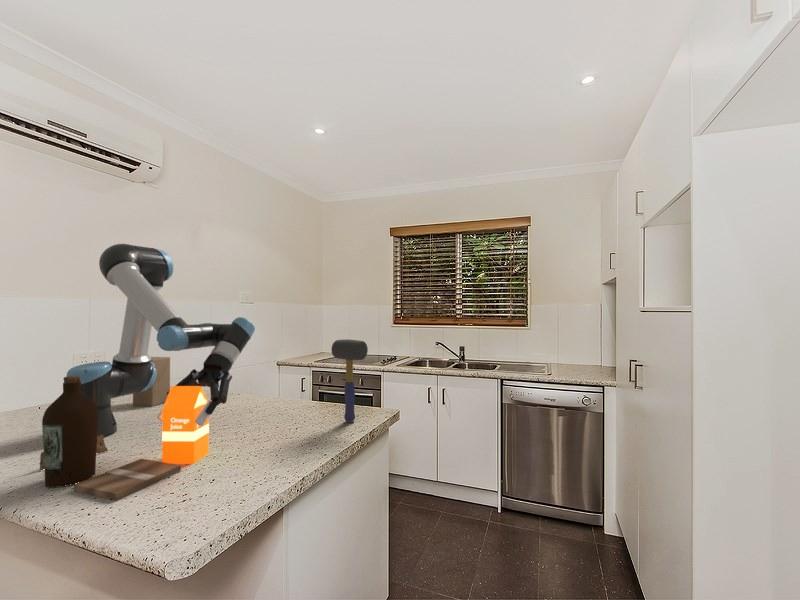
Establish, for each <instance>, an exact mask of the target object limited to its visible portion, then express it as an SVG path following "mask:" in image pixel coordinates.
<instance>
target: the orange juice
mask: <svg viewBox="0 0 800 600" xmlns="http://www.w3.org/2000/svg"><path fill="white" fill-rule="evenodd" d="M207 401H208V399H207V397H206V394H205V392H204V389H203V386H202V387H201V386H176V385H172V386H171V385H170V391H169V394H168V397H167V399H166V402H165V403H163V404H164V405H163V407H162V409H163V422H162V430H161V441H162V448H161V449H162V450H161V451H162V452H161V454H162V455H161V457H162V458H161V462H165V463H171V464H177V465H182V464H183V465H184V464H186V465H188V464H189V465H194V464H196V463H197V462H198V461H201V460H202V459H203V458H204V457H206V456H207V455H208V454H209V453H210V452H209V450H210V448H209V446H210V444H209V443H210V440H209V438H210V436H209V435H210V422H209V419H210V416H209V417H208V418H207V420H206V421H205V423H204V425H203V426H202V427H200V426H199V425H197V424H196V423H195V422H194V421H195V419H196V418H197V416H198V415H199V413H200V412H201V410H202V409H203V407H204V406H205V404H206V402H207Z"/></svg>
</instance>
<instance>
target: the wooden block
mask: <svg viewBox="0 0 800 600" xmlns="http://www.w3.org/2000/svg"><path fill="white" fill-rule="evenodd" d="M150 357H151V361H152V362H153V363H154V365H155V369H156V371H157V374H156V379H155V381H154V383H153V385H152V386H151V387H150V388H148V389H147V390H145V391H142V392H139V393H136V394H132V406H133V407H148V406H150V408H151V407H152V406H153V407H155V406H159V405H163V404H165V402H166V399H167V397H168V395H167V392H168V391H169V390H170V389H171V357H170V356H150ZM162 403H163V404H162ZM153 407H152V408H153Z"/></svg>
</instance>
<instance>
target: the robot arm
mask: <svg viewBox="0 0 800 600" xmlns="http://www.w3.org/2000/svg"><path fill="white" fill-rule="evenodd" d="M101 253H102V254H101V255H100V257H99V261H98V262H99V263H98V266H99V270H100V272H101V274H102V276H103V278H104V279H105V280H107V282H108V283H109V284H110V285H112V286H116V287H117V288H118V289H119V290H120V291H121V292H122V294H124V296H125V297H126V298H127V301H126V306H125V312H124V320H123V325H122V331H121V338H120V344H119V349H118V350H119V351H118V353H116V354H115V355H114V356H112V362H110V361H95V362H89V363H88V362H87V363H84V364H79V365H76V366H74V367H72V368H71V367H70V369H69V370H68V371H67V372H66V375H65V377H68V376H80V381H81V392H82V393H84V394H85V395H86V396H88V397H89V398H90V399H92V400H93V401H94V402H95V403H96V404H97V407H98V410H99V421H98V434H97V436H99V435H102V434H104V438H105V437H108V436H111V435H113V434H115V433H116V432H117V431H118V423H117V420H116V418H115V416H114V414H113V412H112V411H113V410H112V408H111V407H112V405H111V403H112V399H115V398H120V397H123V396H128V395H133V394H136V393H139V392H142V391H145V390H147V389H148V388H150V387H151V386H152V385H153V383H154V381H155V379H156V374H157V371H156V369H155V365H154V363H153V362H152V361H151V357H152V356H150V355H149V353H148V352H149V351H148V350H149V345H150V339H151V334H152V333H151V331H152V327H153V328H154V330H155V331H156V332H157V333H156V341H157V345H158V347H159V349H161V350H162V351H166V352H179V351H184V350H191V349H201V348H207V347H214V348H212V350H211V351H210V353H209V355H208V356H207V357H206V359H205V360H204V362H203V368H202V369H201V370H200V371H198V370H196V369H195V368H194V369H192V370H191V371H190V373H188V375H186V376H185V377H184V378H182V380H180V381H179V382H178V383H177V384H175V386H201V387H202V388H203V387H208V388H209V390H210V398H209V399H207V402H206V404H205V406H204V407H203V409H202V410H201V412H200V413H199V415H198V416H197V418H196V419H195V421H194V422H195V423H196V424H197V425H199V426H200V427H202V426H203V425H204V423H205V421H206V420H207V418H208V417H209V418H210V415H212V414H213V412H214V411H215V409H216V408H217V406H219V405H220V404H222V405H223V404H226V403H227V401H228V393H229V387H230V382H231V380H232V378H233V376H232V375H231V373H230V371H231V368H233V365H234V364H235V362H236V361H237V359H238V357H239V356H240V354H241V353H242V352H243V350H244V349H245V347H246V346H247V344H248V342H249V341H250V340H251V338H252V336H253V334H254V333H255V329H256V328H255V327H256V326H255V325H254V324H253V322H252V321H251V320H249V319H248V318H246V317H242V316H239V317H236V318H235V319H233V320H232V321H231V323H230V324H229V323H212V322H208V323H207V322H205V323H199V324H188V323H187V322H186V321H185V320H184V319H183V318H182V317H181V316H180V314H178V312H176V310H175V309H174V308H173V307H172V306H171V305H170V304H169V303H168V301H166V300H165V298H164V297H163V296H162V295H161V294H160V293H159V290H161V289H162V288H163V287H164V282H166V281H168V280H170V278H172V276H173V274H174V262H173V260H172V258H171V257H170V254H168V253H167V252H166V251H164V250H162V249H159V248H158V249H157V248H154V247H148V246H146V247H145V246H140V245H133V244H127V243H117V244H114V245H110V246H109V247H107V248H106V249H105V250H104V251H103V252H101ZM219 382H220V383H219ZM169 391H170V390H169ZM169 391H168V392H167V395H168V394H169ZM156 418H157V419H158V420H160V421H161V422H162V423H163V408H162V410H161V411H160V412H159V414H158V415H157V416H156Z"/></svg>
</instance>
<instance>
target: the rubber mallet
mask: <svg viewBox="0 0 800 600" xmlns="http://www.w3.org/2000/svg"><path fill="white" fill-rule="evenodd" d="M368 352H369V350H368V345H367V343H366V342H365V341H363V340H358V339H348V338H347V339H337V340H335V341H334V342H333V343H332V344H331V355H332V356H333V357H334V359H335V358H336V359H340V360H345V383H344V402H345V403H344V404H345V407H344V409H345V412H344V420H345V422H346V423H353V422H354V421H355V419H356V413H355V398H356V397H355V396H356V388H355V382H354V361H363V360H365V358H366V357H367V355H368Z"/></svg>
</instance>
